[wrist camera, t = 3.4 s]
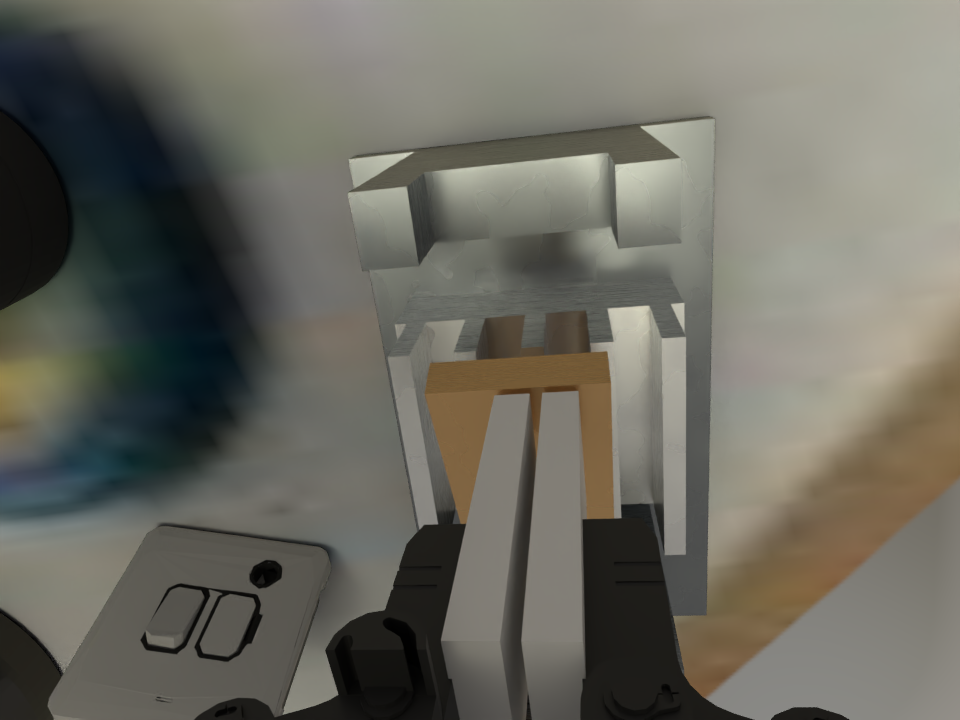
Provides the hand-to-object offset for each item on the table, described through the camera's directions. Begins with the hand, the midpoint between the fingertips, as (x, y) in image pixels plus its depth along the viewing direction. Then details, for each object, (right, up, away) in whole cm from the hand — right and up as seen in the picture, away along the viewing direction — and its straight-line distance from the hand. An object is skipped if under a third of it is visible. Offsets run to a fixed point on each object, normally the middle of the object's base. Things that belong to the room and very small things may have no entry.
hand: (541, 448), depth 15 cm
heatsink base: (+2, 0, +14) cm, 14 cm away
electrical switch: (-13, -9, +20) cm, 26 cm away
